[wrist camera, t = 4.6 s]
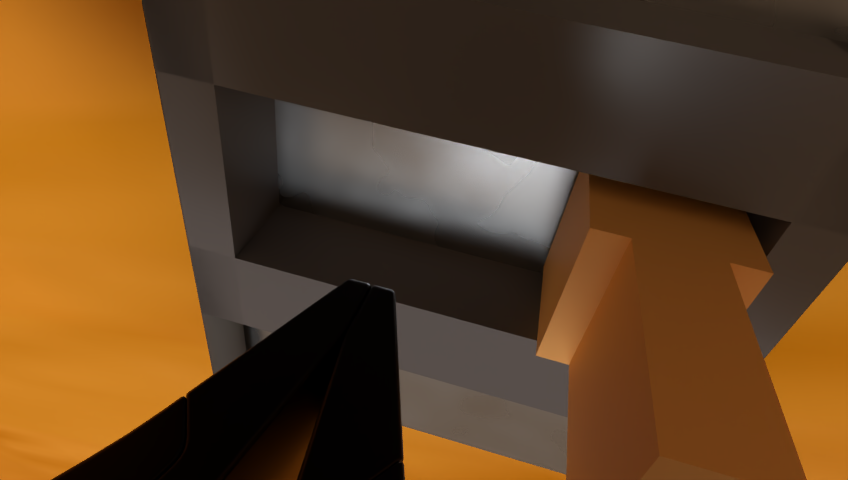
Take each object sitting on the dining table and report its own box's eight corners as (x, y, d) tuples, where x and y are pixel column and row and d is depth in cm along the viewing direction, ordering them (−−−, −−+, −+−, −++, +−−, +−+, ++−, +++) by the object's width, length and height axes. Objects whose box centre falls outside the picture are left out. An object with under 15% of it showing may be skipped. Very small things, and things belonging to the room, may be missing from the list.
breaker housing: (898, 52, 9) (981, 106, 7) (633, 428, 17) (640, 502, 15) (209, -87, 10) (128, -73, 9) (252, 319, 18) (214, 375, 16)
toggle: (732, 181, 11) (885, 521, 5) (663, 296, 13) (722, 624, 8) (588, 147, 11) (594, 437, 6) (543, 266, 13) (517, 558, 8)
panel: (1389, -519, 6) (1541, -587, 5) (634, 464, 20) (636, 495, 19) (105, -634, 7) (37, -703, 7) (238, 349, 21) (223, 372, 20)
